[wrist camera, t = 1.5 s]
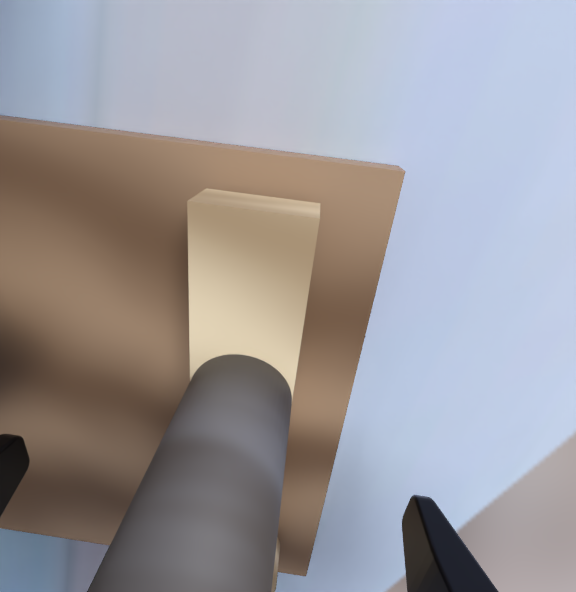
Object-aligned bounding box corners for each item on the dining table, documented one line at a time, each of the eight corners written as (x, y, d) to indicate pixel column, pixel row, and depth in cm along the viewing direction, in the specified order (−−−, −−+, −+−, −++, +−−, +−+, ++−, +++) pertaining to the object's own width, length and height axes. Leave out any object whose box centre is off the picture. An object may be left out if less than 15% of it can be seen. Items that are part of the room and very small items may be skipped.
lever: (275, 573, 18) (246, 857, 11) (192, 559, 18) (112, 833, 11) (339, 205, 10) (378, 429, 3) (187, 185, 10) (-118, 356, 3)
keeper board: (306, 554, 19) (301, 684, 15) (-58, 497, 19) (-166, 606, 15) (398, 165, 10) (451, 206, 6) (-266, 80, 11) (-656, 62, 6)
